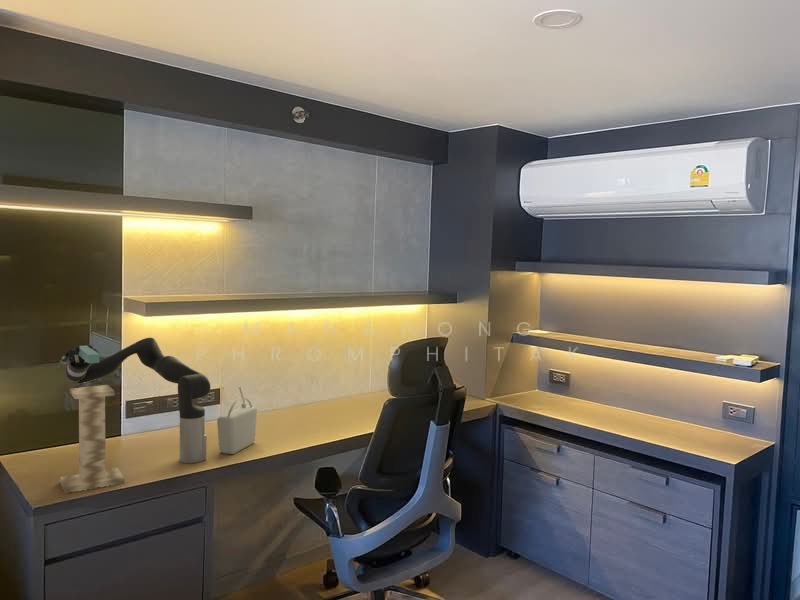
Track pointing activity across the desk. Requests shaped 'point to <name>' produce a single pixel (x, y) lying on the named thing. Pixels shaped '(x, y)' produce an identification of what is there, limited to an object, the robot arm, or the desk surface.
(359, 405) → the desk surface
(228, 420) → the white handbag
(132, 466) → the desk surface
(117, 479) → the stand
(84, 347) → the bar
